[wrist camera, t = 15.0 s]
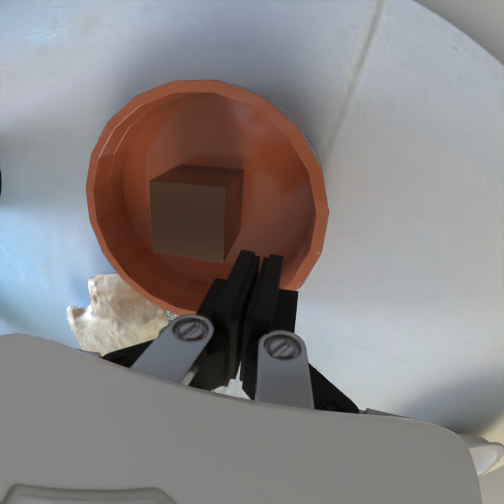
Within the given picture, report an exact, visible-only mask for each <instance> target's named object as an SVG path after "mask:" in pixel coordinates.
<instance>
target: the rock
mask: <svg viewBox="0 0 504 504" xmlns="http://www.w3.org/2000/svg"><path fill="white" fill-rule="evenodd" d="M88 289H89V294H90V299H91V304H90V305H89V306H88V307H87V308H78V307H77V306H75V305H71V306H69V307H68V309H67V318H68V321H69V324H70V327H71V329H72V331H73V332H74V334H75V335H76V337H77V339H78V341H79V343H80V345H81V349H82V350H86V351H92V352H99V353H100V354H101V356H104V355H105V354H107V353H110V352H112V351H116V350H119V349H123V348H126V347H130V346H133V345H136V344H140V343H143V342H146V341H150V340H153V339H156V338H157V337H158V335H159V331H160V330H161V329H162V328H163V327H165V326H166V325H168V323H169V320H168V317H167V315H166V309H164V308H162V307H160V306H158V305H156V304H154V303H152V302H150V301H148V300H146V299H145V298H144V297H143V296H141V295H140V294H139V293H138V292H137V291H135V290H134V289H133V288H132V287H131V286H130V285H128V284H127V283H126V282H125V281H124V280H123V279H122V278H121V277H120V276H119V274H118V273H114V274H103V273H102V274H99V275H98V276H95V277H91V278H89V280H88Z"/></svg>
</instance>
